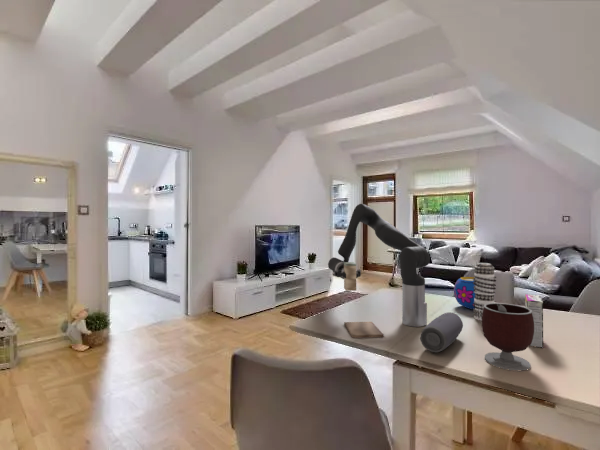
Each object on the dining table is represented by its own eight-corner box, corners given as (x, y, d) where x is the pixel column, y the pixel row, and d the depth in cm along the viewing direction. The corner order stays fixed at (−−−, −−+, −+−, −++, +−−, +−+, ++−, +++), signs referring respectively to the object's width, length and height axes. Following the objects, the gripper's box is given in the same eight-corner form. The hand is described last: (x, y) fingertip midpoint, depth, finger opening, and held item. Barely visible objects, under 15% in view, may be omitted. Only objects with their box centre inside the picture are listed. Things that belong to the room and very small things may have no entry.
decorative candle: (499, 322, 143) (499, 265, 143) (476, 320, 145) (476, 264, 145) (491, 316, 152) (491, 262, 152) (470, 315, 154) (470, 262, 154)
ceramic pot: (492, 315, 154) (492, 283, 154) (451, 309, 163) (451, 279, 163) (493, 306, 169) (493, 277, 168) (455, 302, 178) (455, 274, 178)
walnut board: (371, 323, 142) (371, 321, 141) (383, 337, 126) (383, 334, 126) (344, 324, 141) (344, 322, 141) (352, 337, 125) (352, 335, 125)
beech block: (353, 288, 150) (353, 262, 150) (356, 290, 145) (356, 263, 145) (344, 288, 150) (343, 262, 150) (346, 290, 145) (346, 263, 145)
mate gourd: (489, 349, 113) (490, 292, 113) (538, 362, 103) (539, 299, 102) (473, 363, 102) (473, 299, 102) (526, 379, 92) (526, 308, 92)
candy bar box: (524, 336, 126) (524, 293, 126) (540, 338, 123) (540, 295, 123) (526, 345, 116) (526, 299, 116) (543, 348, 114) (543, 301, 113)
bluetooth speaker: (438, 334, 129) (438, 308, 129) (464, 339, 123) (464, 313, 123) (418, 352, 111) (418, 323, 111) (447, 359, 105) (447, 328, 105)
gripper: (329, 262, 162) (335, 267, 145) (357, 262, 163) (367, 267, 146) (329, 277, 162) (335, 284, 145) (357, 277, 163) (367, 283, 146)
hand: (351, 275), depth 145 cm, fingers closed on beech block, 4 cm apart
